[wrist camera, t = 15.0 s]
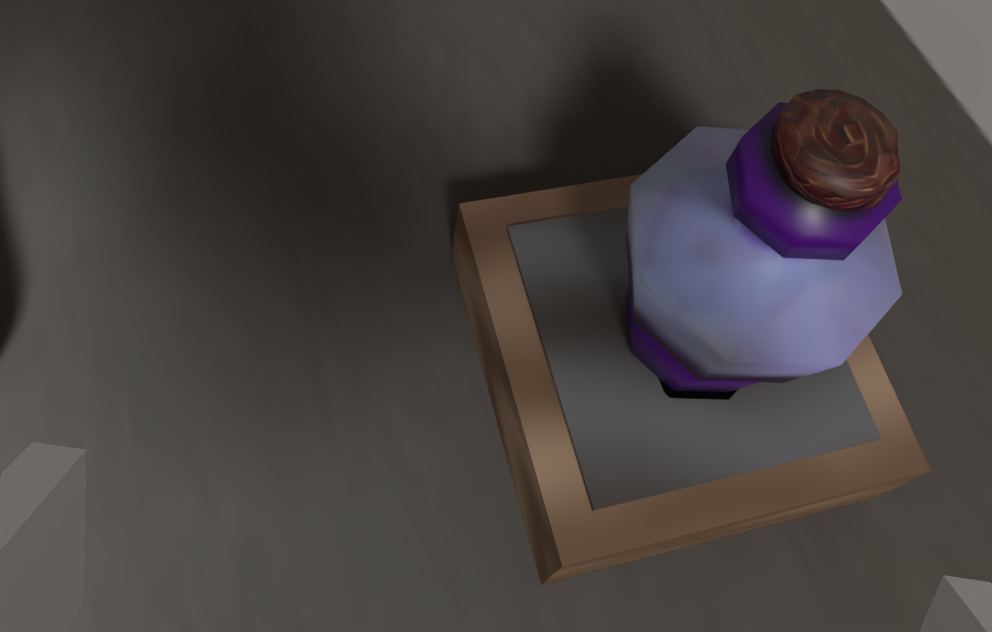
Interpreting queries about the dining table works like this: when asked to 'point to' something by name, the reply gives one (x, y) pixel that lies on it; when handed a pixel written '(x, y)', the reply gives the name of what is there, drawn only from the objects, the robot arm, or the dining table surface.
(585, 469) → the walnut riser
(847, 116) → the potion bottle
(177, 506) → the dining table surface
